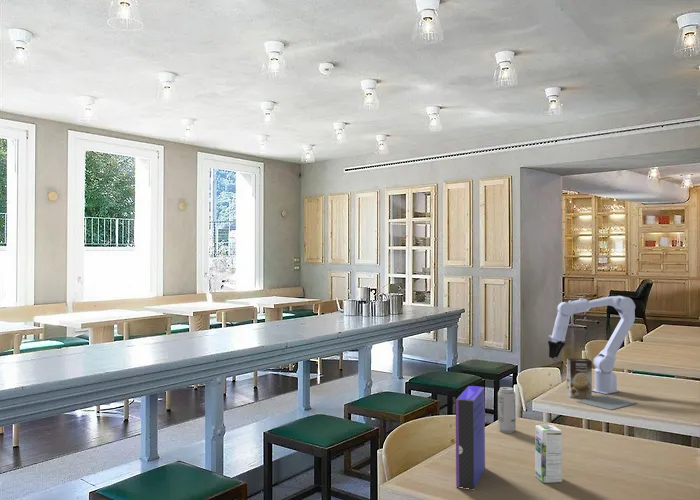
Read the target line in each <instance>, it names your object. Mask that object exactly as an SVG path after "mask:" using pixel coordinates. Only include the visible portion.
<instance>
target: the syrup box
mask: <svg viewBox="0 0 700 500" xmlns="http://www.w3.org/2000/svg"><path fill="white" fill-rule="evenodd" d="M534 435H535V437H534V439H535V442H534V445H535V446H534V451H535V452H534V454H535V455H534V475H535V477H537V479H538V480H540V481H541V483H543V484H548V483H550V484H551V483H563V431H562V430H561V429H560V428H558V427H557V426H555V425H554V424H538V425H535V434H534Z"/></svg>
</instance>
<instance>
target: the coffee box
mask: <svg viewBox="0 0 700 500" xmlns="http://www.w3.org/2000/svg"><path fill="white" fill-rule="evenodd" d="M592 364H593V360H590V359H589V358H572V357H571V358H566V395H567V396H568V397H569V398H571V399H572V398H573V399H589V398H593V397H592V396H593V395H592V392H593V391H592V389H593V388H592V387H593V385H592V384H593V383H592V381H593V380H592V379H593V378H592V375H593V373H592V372H593V368H592V367H593V365H592Z"/></svg>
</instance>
